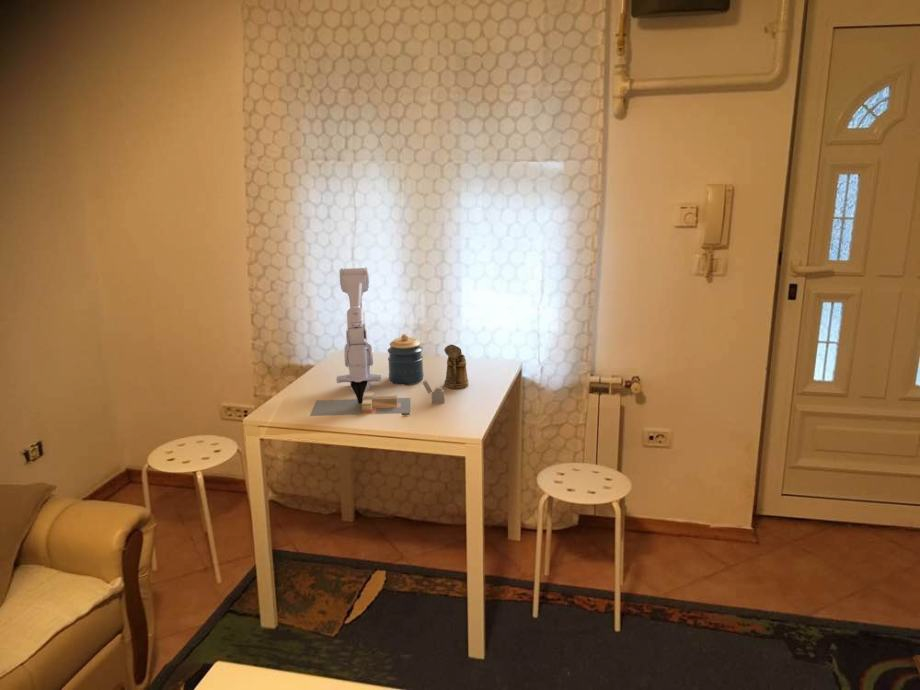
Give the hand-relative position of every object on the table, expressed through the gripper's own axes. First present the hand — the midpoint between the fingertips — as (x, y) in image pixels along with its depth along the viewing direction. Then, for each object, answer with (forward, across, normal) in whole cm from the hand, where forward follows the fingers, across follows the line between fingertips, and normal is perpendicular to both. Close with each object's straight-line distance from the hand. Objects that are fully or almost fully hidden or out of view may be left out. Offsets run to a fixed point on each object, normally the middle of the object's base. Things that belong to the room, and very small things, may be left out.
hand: (360, 402), depth 230 cm
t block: (+1, +7, 0) cm, 7 cm away
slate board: (+2, 0, 0) cm, 2 cm away
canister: (+3, +14, +29) cm, 32 cm away
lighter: (+3, +24, +4) cm, 25 cm away
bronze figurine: (+3, +32, +19) cm, 38 cm away
